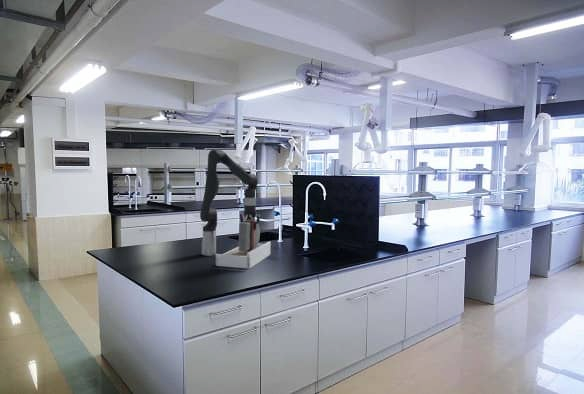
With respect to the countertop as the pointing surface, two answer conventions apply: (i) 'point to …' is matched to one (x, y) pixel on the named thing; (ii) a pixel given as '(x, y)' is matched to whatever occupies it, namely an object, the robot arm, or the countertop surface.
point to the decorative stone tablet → (248, 235)
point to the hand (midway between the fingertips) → (249, 229)
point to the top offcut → (240, 253)
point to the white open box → (244, 257)
